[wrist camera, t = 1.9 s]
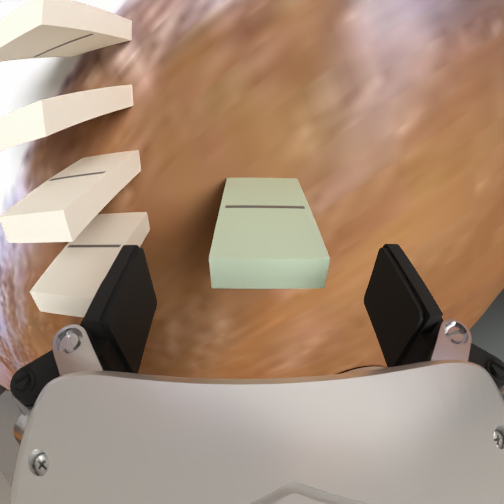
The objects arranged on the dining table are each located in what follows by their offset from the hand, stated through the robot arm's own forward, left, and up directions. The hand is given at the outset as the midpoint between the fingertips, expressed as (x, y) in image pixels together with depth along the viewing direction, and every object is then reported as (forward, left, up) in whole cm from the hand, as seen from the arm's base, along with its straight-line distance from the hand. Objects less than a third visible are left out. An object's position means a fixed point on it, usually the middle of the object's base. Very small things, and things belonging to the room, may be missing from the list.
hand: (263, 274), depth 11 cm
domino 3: (-3, +11, -11) cm, 16 cm away
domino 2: (+2, +13, -11) cm, 17 cm away
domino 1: (+6, +15, -11) cm, 20 cm away
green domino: (0, -1, -11) cm, 11 cm away
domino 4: (-7, +9, -11) cm, 16 cm away
